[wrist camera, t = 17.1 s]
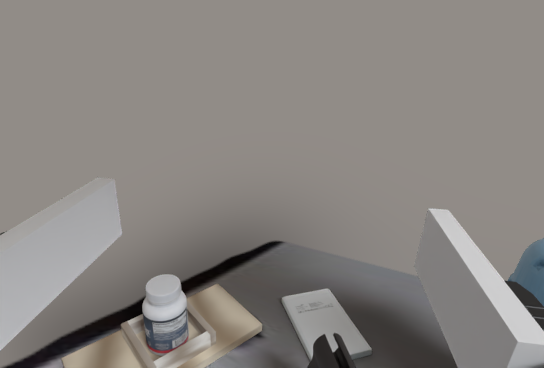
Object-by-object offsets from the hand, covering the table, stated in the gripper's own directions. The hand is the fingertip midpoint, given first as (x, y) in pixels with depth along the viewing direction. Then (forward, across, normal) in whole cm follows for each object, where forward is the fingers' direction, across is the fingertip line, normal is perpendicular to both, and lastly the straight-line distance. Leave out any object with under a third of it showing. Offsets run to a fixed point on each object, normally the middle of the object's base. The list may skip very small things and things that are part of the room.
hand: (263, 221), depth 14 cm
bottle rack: (+19, -14, -30) cm, 38 cm away
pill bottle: (+19, -14, -29) cm, 37 cm away
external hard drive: (+26, +6, -31) cm, 41 cm away
